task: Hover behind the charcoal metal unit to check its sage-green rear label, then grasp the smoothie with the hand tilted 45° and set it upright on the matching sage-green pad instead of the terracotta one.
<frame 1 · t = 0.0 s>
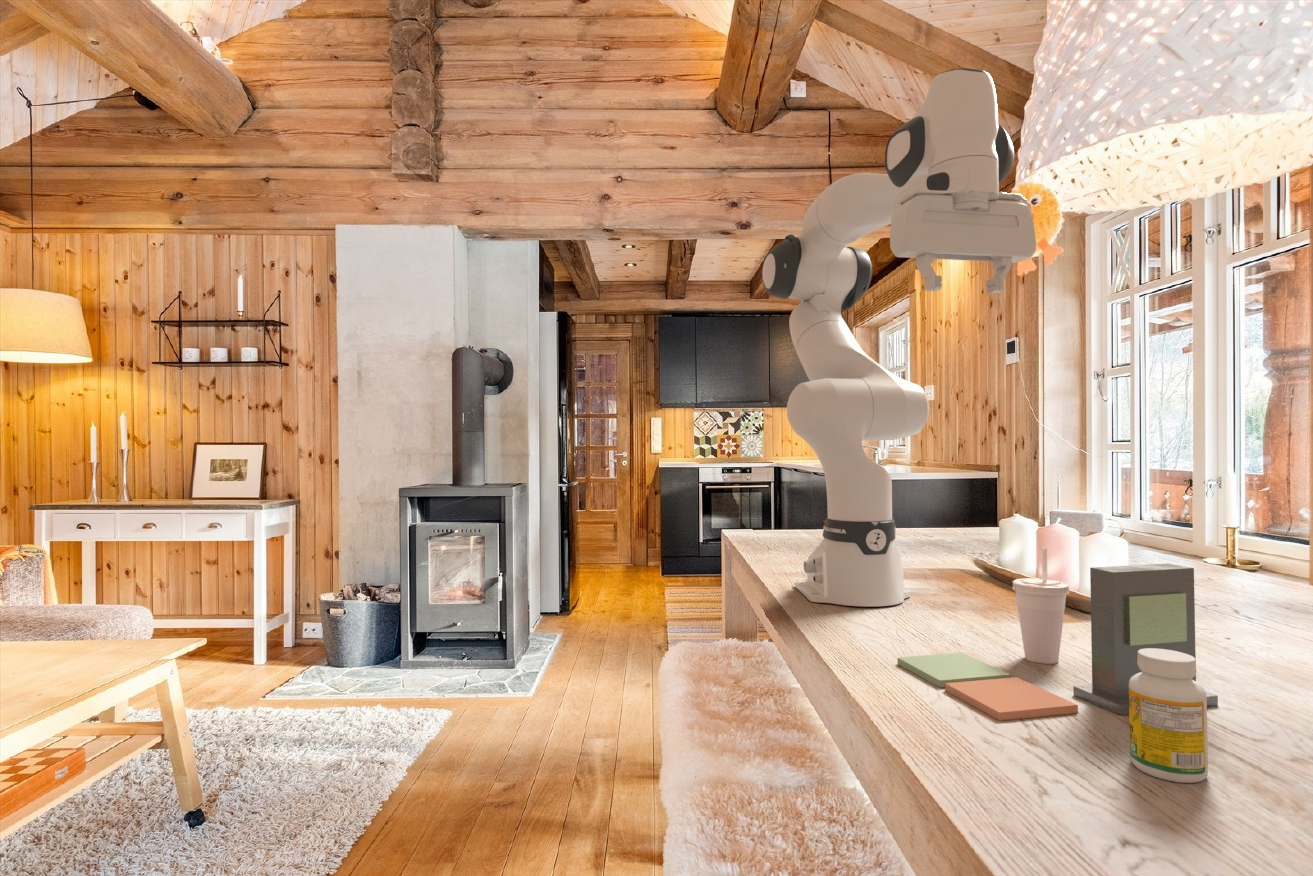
hand: (964, 291, 98), 48 cm above the table, tool pointing down, fingers open, 8 cm apart
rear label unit: (1144, 700, 76), on the table
smoothie: (1041, 661, 91), on the table
terracotta pad: (1008, 701, 76), on the table
sage pad: (951, 672, 86), on the table
supplement bottle: (1168, 772, 60), on the table
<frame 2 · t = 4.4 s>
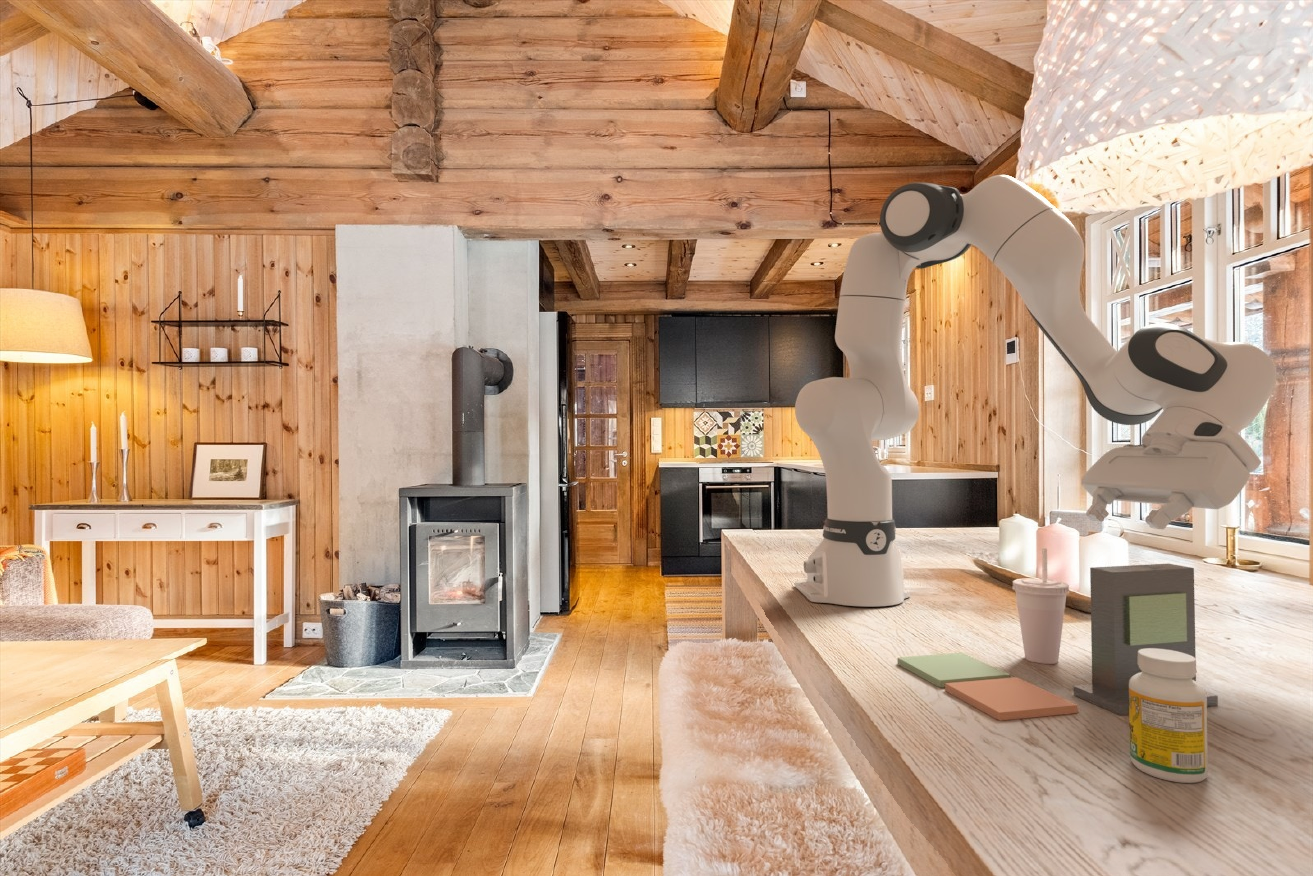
hand: (1121, 521, 94), 17 cm above the table, tool tilted 45°, fingers open, 8 cm apart
nothing on the table moved.
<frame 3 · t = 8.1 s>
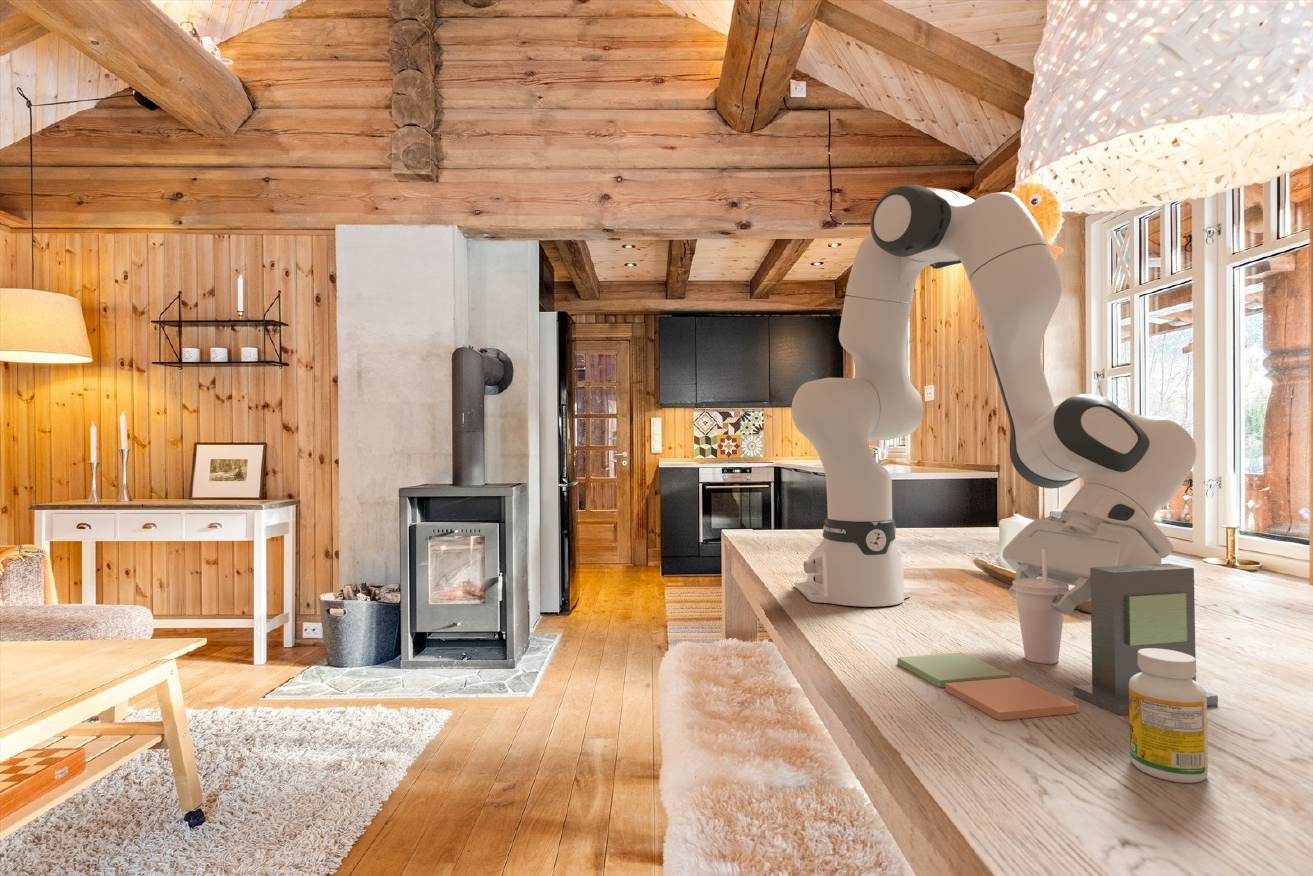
hand: (1036, 603, 91), 7 cm above the table, tool tilted 45°, fingers closed on smoothie, 6 cm apart
smoothie: (1041, 661, 91), on the table, touching gripper
everything else where it was.
when the fingers open (10 cm above the table, at t = 16.4 s): smoothie drops 2 cm, resting on sage pad.
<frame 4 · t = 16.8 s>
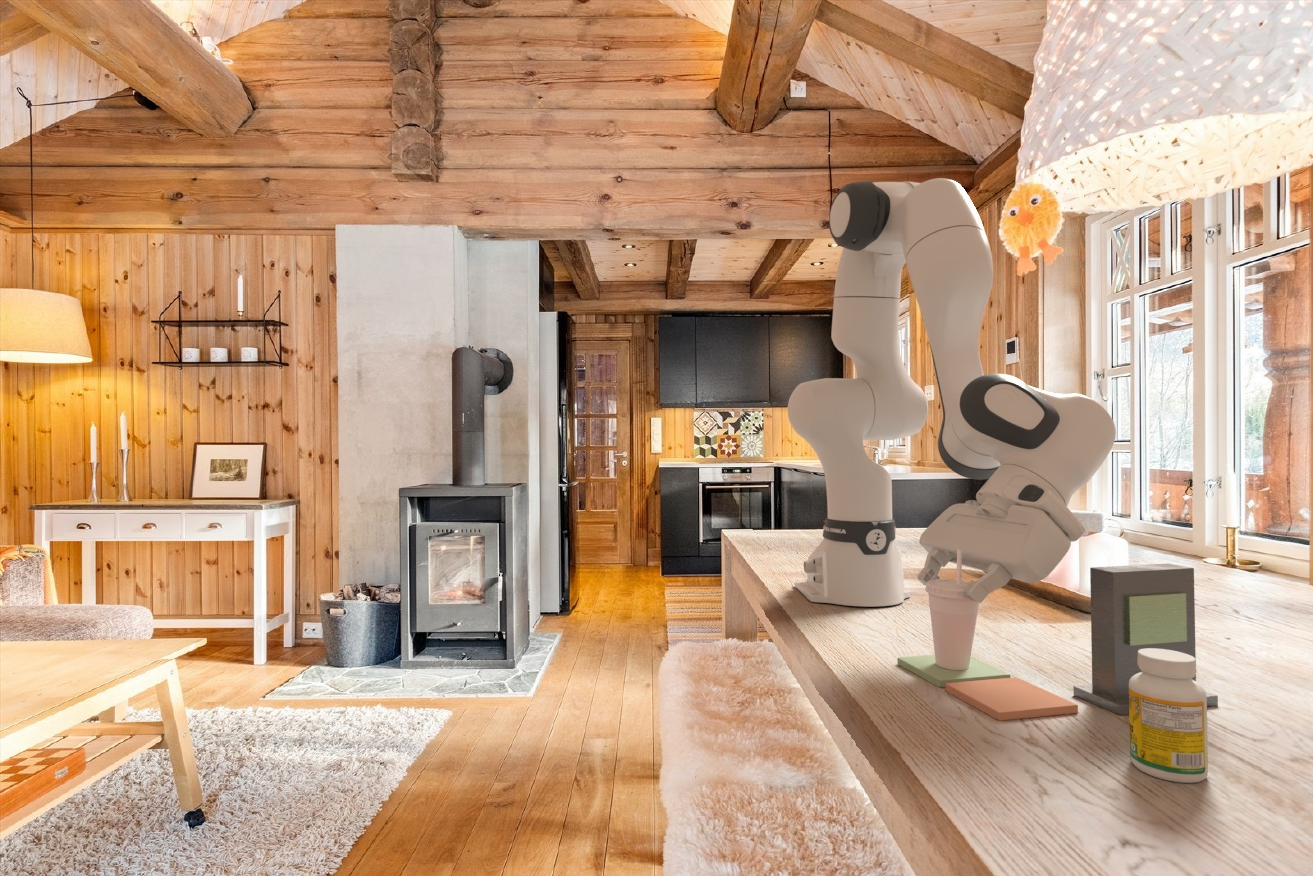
hand: (945, 590, 86), 10 cm above the table, tool tilted 45°, fingers open, 8 cm apart
smoothie: (952, 666, 86), point 1 cm above the table, touching sage pad
everything else where it was.
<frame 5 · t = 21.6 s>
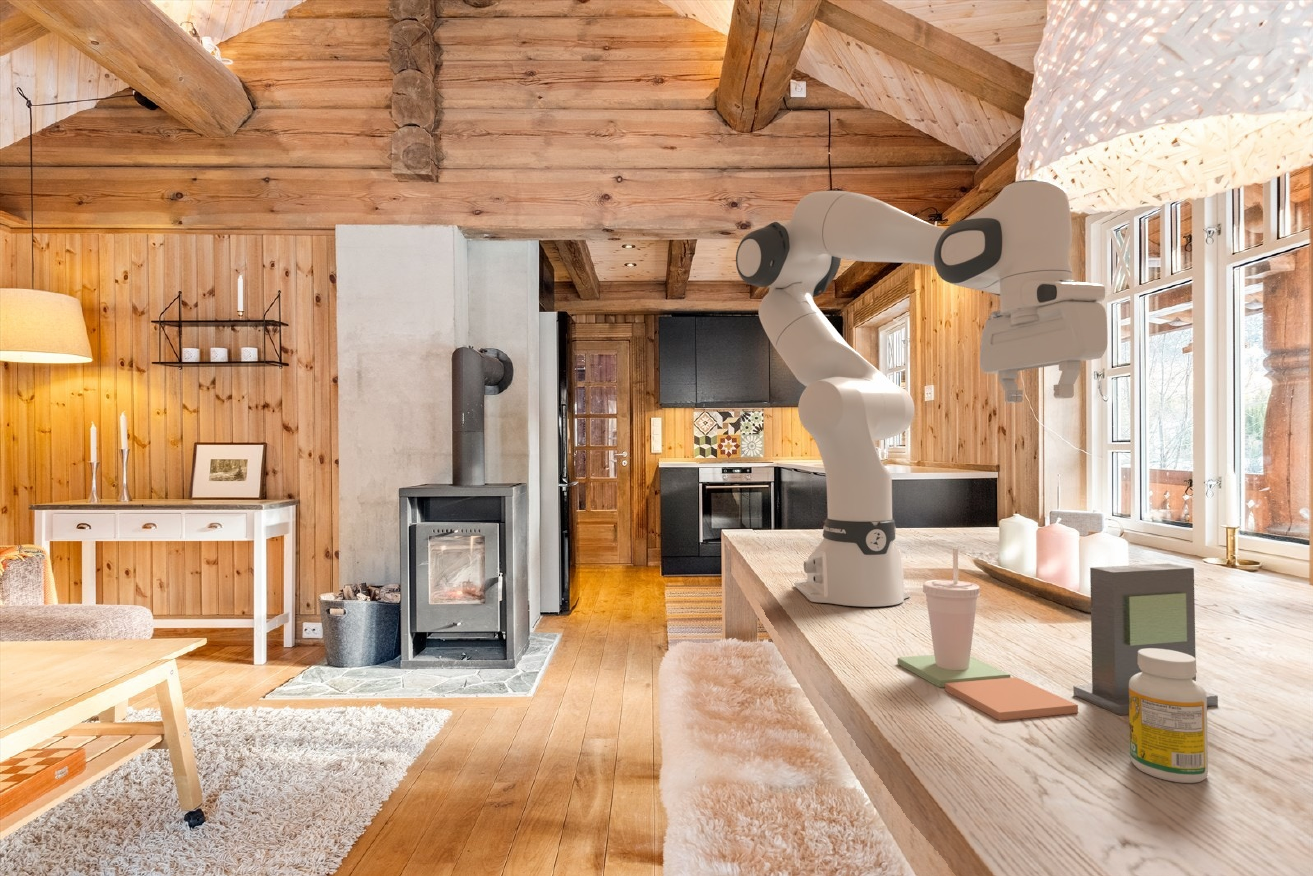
hand: (1037, 400, 98), 33 cm above the table, tool pointing down, fingers open, 8 cm apart
nothing on the table moved.
at the end: smoothie 0.1 cm off-centre on the sage pad, point 0.6 cm above the sage pad's base; smoothie tilted 0°; the gripper is holding nothing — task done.
